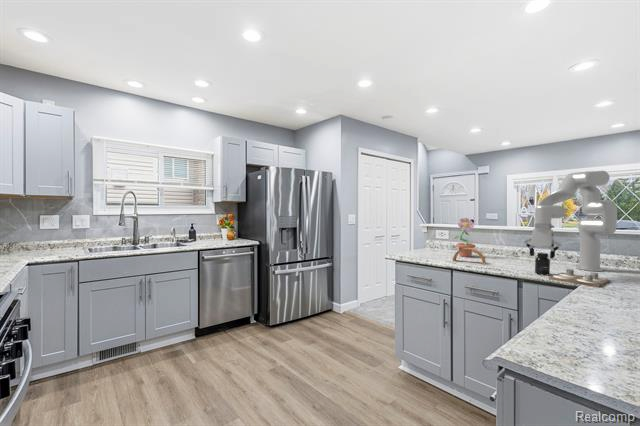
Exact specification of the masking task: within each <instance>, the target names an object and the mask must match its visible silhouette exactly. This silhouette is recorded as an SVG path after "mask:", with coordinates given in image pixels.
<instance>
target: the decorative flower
mask: <svg viewBox="0 0 640 426" xmlns="http://www.w3.org/2000/svg"><path fill="white" fill-rule="evenodd" d="M457 226H458V227H459V228H460V229H461V233H460V235H457V236H455V237H454V239H459V240H460V241H462V242H457V243H456V244H455V247H457V248H458V251H459V250H461V249H464V248H474V249H476V245H475V244H474V243H469V238H463V235H464V234H465V235H466V236H469V233H468V232H467V231H471V230H472V229H474V227H475V225H474V222H473V220H470V219H469V218H468V217H465V218H463V217H462V218H460V219H459V222H458V223H457ZM472 254H473V251H471V250H463V251H461V252H460V253H459V254H458V256H459V257H463V258H471V257H472V256H473V255H472Z"/></svg>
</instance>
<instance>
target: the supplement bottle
mask: <svg viewBox="0 0 640 426" xmlns="http://www.w3.org/2000/svg"><path fill="white" fill-rule="evenodd" d="M548 257H549V253H546V252H537V256H536V257H535V261H534V263H535V264H534V274H536V273H538V274H537V275H539V274H544V275H543V276H548V275H547V274H549V275H550V273H551V272H550V269H551V260H550V259H551V258H548Z"/></svg>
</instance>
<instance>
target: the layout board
mask: <svg viewBox="0 0 640 426" xmlns="http://www.w3.org/2000/svg"><path fill="white" fill-rule="evenodd" d="M548 280H552V281H557V282H565V283H569V284H570V283H571V284H575V285H583V286H587V285H589V286H588V287H594V286H595V287H594V288H600V287H603V286H605V285H607V284H609V283H611V279H609V278H602V277H599V273H597V272H590V274H584V275H582V274H576V273H574V269H570V268H569V269H568V268H567V269H566V272H560V273H557V274H554V275H551V276H549V277H548Z"/></svg>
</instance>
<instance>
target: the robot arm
mask: <svg viewBox="0 0 640 426" xmlns="http://www.w3.org/2000/svg"><path fill="white" fill-rule="evenodd" d="M610 178H611V177H610V174H609V173H608V172H607V171H605V170H597V171H595V170H591V171H579V172H571V173H568V174H567V175H566V176H564V179H563V180H562V181H561V183H560V184H559V186H558V187H557V189H556V190H555V191H553V192H552V193H550V194H548V195H546V196H545V197H543V198H542V199H541V200H540V201H539V202H538V204H537V205H536V206H535V208H534V209H535V211H534V228H533V229H532V233H531V238H529V239H527V240H525V241H524V244H526V247H528V249H529V256H530V257H533V256H535V247H540V248H541V247H542V248H548V249H549V250H550V253H549V259H554V258H555V256H556V251H557V250H559V249H560V247H561V246H562V244H561V242H558V241H556V240H555V234H554V230H553V229H554V228H555V225H553V224H552V219H556V220H557V219H562V218H564V217H565V216H566V215H567V210H566V208H565V207H564V206H563V205H562V206H561V205H556V204H559V203H562V202H565V201H568V200H571V199H572V198H573V197H574V196H575V194H576V192H577V191H578V190H580V193H581V212H582V215H583V216H589V217H586V218H585V217H584V218H582V219H580V220H579V221H578V222H577V230H578V231H579V232H578V233H579V259H578V260H579V263H578V264H579V265H576V267H575V268H576V269H578V270H582V271H591V272H604V268H602V267H601V245H602V244H601V243H602V242H601V239H600V237H598V235H605V236H606V235H607V236H609V235H610V236H611V235H613V234H615V232H616V231H617V225H618V222H617V221H618V206H617V204H616V203H615V201H613V200H608V199H607V200H605V199H604V200H603V199H601V191H600V189H599V188H598V186H604V185H607V184H608V182H609V181H610ZM594 217H597V218H594ZM598 217H602V218H598ZM555 245H556V246H555Z"/></svg>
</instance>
